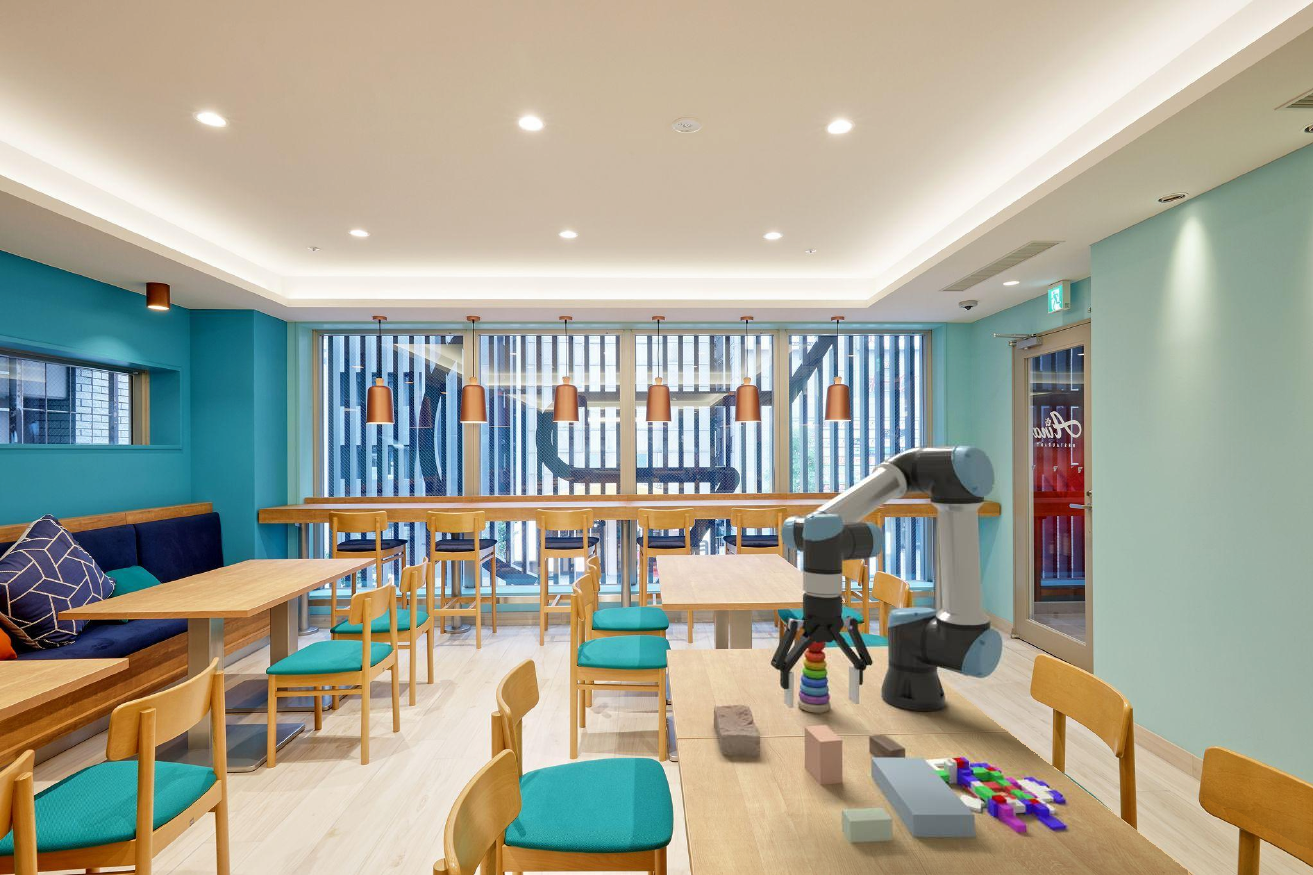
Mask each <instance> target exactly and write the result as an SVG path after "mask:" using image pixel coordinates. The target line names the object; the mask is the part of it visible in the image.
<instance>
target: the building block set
mask: <svg viewBox="0 0 1313 875" xmlns="http://www.w3.org/2000/svg"><path fill="white" fill-rule="evenodd" d="M925 761H926V762H927V763H928V764H929V765H930V766H931V767H932V768H933V769H934V771H935V772H936V773H937V774H938V775H939V776H940V777H941V778H942V779H943V780H944V782H945V783H947V784H949V785H950V784H952V785H953V784H958V785H959V786H960V787H961V788H962V789H964V790H965V791H966V792H967V793H968V794H970V795H971V796H972V797H971V796H969V795H967V794H962V795H961V796H960V797H959V798H960V799H961V800H962V801H963V802H964V804H965V805H966V806H967V807H968V808H969V809H970V810H971V811H973V812H978V813H982V808H983V807H985V808H987V812H986V813H988V814H989V815H990V816H992V817H993V818H999V819H1000V820H1001V821H1002V822H1003V823H1004V824H1006V825H1007V826H1008V827H1009V828H1010V829H1012V830H1013V831H1014V832H1015V833H1017V834H1018V833H1027V824H1026V823H1025V822H1023V821H1022V820H1020V819H1019V817H1017V814H1019V813H1021V814H1023V815H1034V816H1035V817H1037V819H1038V821H1039V822H1041V823H1042V825H1045V826H1046V827H1047V828H1048V829H1050V830H1051V831H1062V830H1067V825H1066V824H1065V823H1064V822H1062V821H1061V820H1060V819H1058V818H1056V816H1054V814H1055V813H1056V811H1057V810H1056V808H1055V807H1053V806H1052V805H1050V804H1049V803H1051V802H1050V801H1054V802H1053V803H1055V804H1058V805H1062V804H1061V803H1063V804H1066V803H1067V802H1066V799H1065V798H1064V795H1063V794H1062V793H1061V792H1059V791H1058V790H1056V789H1054V790H1052V789H1050V785H1049V784H1048V783H1046V782H1045V781H1043V780H1037V779H1036V778H1035V777H1033V776H1028V777H1027V776H1026V777H1023V779H1018V780H1017V779H1016V780H1015V779H1014V778H1012V777H1005V778H1004V774H1002V770H1001V769H1000V768H999V767H997V766H991V765H990V764H988V763H987V762H977V763H970V761H969V760H968V759H967V758H966V757H964V756H961V757H960V756H959V757H946V758H935V759H925ZM939 767H943V769H941V768H939ZM986 781H987V782H986ZM1020 789H1021V790H1023V791H1021V790H1020ZM1024 790H1025V791H1024ZM1000 791H1003V792H1004V793H1006V795H1005V794H1004V795H1002V794H998V793H996V792H1000ZM1062 797H1063V798H1062Z"/></svg>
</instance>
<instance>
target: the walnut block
mask: <svg viewBox="0 0 1313 875" xmlns="http://www.w3.org/2000/svg"><path fill="white" fill-rule="evenodd" d="M868 738H869V739H868V742H869V743H868V744H869V745H868V746H869V747H868V748H869V749H868V750H869V753H870V754H871V755H873V756H874V758H906V748H905V747H904V746H902V745H901V744H899V743H898V742H896V741H894V740H893V739H892V738H890V737H889V736H887V735H885V734H884V733H883V734H876V735H875V734H874V735H869V737H868Z"/></svg>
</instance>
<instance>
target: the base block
mask: <svg viewBox="0 0 1313 875" xmlns="http://www.w3.org/2000/svg"><path fill="white" fill-rule="evenodd" d="M870 760H871V763H870V764H871V772H870V773H871V778H872V780H873V781H874V782H875V784H876V785H877V787H878V788H879V789H880V791H881V792H882V794H883V795H884V797H885V798H886V799H887V801H888V802H889V804H890V805H891V807H892V809H893V810H894V811H895V812H896V815H898V817H899V818H900V820H901V821H902V823H903V824H904V825H905V827H906V828H907V830H908V831H909V833H910V834H911V836H912V837H913V838H975V837H976V828H975V827H976V825H975V824H976V821H975V820H976V819H975V816H976V815H975V814H974V811H973V810H970V809H969V808H968V807H967V806H966V805H965V804H964V802H963V801H962V800H961V799H960V797H959V796H958V794H956V793H955V791H954V790H953V789H952V788H951V787H950V786H949V785H948V783H947V782H946V781H945V782H944V780H943V779H942V778H941V777H940V776H939V775H938V774H937V773H936V772H935V771H934V769H933V768H932V767H931V766H930V765H929V764H928V763H927V762H926V761H925V760H926V759H925V758H924V757H905V758H877V757H871V759H870ZM972 811H973V812H972Z"/></svg>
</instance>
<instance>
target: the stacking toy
mask: <svg viewBox="0 0 1313 875" xmlns="http://www.w3.org/2000/svg"><path fill="white" fill-rule="evenodd" d="M826 645H827V642H822V643H816V642H813V644H812V645H811V646H809V647H808V648H807V649H806V651H805V652H804V653H803V655H804V657H805V658H804V659H803V667H802V674H801V676H800V681H801V682H800V683H799V689H800V690H799V691H798V697H799V698H798V700H797V705H798V707H799V708H800V709H801V710H803V711H806V712H808V713H813V714H821V713H823V714H824V713H826V712H828V711H829V710H830V709H831V704H832V703H831V702H830V699H831V696H830V693H829V691H830V687H829V685H828V683H829V679H828V677H827V676H828V670H827V661H825V659H826V653H825V652H824V649H825V648H826Z"/></svg>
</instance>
